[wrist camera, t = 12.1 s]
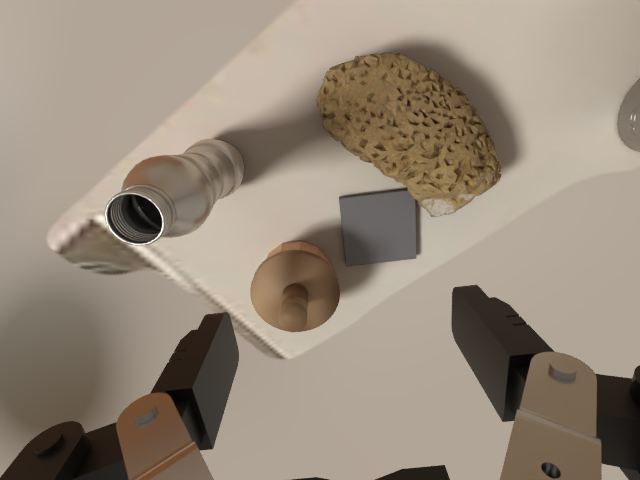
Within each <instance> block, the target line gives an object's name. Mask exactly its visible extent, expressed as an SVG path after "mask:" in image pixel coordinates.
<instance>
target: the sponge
mask: <svg viewBox="0 0 640 480" xmlns="http://www.w3.org/2000/svg"><path fill="white" fill-rule="evenodd" d="M323 80H324V82H323V85H322V87H321V88H320V90H319V93H318V96H317V99H316V100H317V106H318V107H319V109H320V111H321V114H320V116H323V126H324V128H325V130H326V131H327V132H328V133H329V134H330V135H331V136H332V137H333V138H334V139H335V140H336V141H341V143H342V146H344V147H345V148H346V149H347V150H348V151H350V152H351V153H353V154H354V155H355V156H359V157H360V160H362V161H365V162H370V163H374V166H375V167H376V168H378V169H379V170H380V171H381V172H382V173H383V174H384V175H385V176H388V177H391V178H394V179H395V180H396V181H397V182H402V183H403V184H404V185H405V186H407V189H408V191H409V193H410V195H411V196H412V197H413V199H416V200H417V201H418V205H420V206H422V207H423V208H425V209H426V210H427V211H428V212H429V214H430V215H431V217H438V216H442V215H449V214H452V213H454V212H456V211H457V210H458V209H460V208H462V207H463V206H465V205H466V204H468V203H469V202H471V201H472V200H473V198H474V197H475V196H478V195H481V194H482V193H484V192H485V191H487V190H488V189H490V188H491V187H492V186H494V185H495V184H496V183H497V182H498V181H499V180H500V177H501V174H499V172H500V169H501V166H500V164H499V162H498V156H497V154H496V152H495V148H494V144H493V142H492V140H491V137H490V135H489V132H488V131H487V129H486V127H485V126H484V124H483V122H482V121H481V119H480V117H479V115H478V114H477V112H476V110H475V109H474V108H473V107H472V106H470V105H469V103H468V99H467V97H466V95H465V94H463V93H462V89H461V88H453V87H452V86H451V83H450V81H448V80H447V79H445V78H443V77H441V76H439V74H438V73H437V72H435V71H434V70H433V69H431V70H429V71H428V72H427V70H426V69H425V67H424V66H423V65H421V64H419V63H418V62H415V61H414V60H412V59H411V58H408V57H406V56H404V55H402V54H400V53H398V54H395V55H394V54H392V53H389V52H385V53H383V54H378V53H376V54H371V55H366V56H360V57H359V56H355V59H354V60H353V61H350V62H346V63H342V64H339V65H336V66H334V67H332V68H330V69H329V71H327V72H326V74H325V77H324V79H323Z"/></svg>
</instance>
